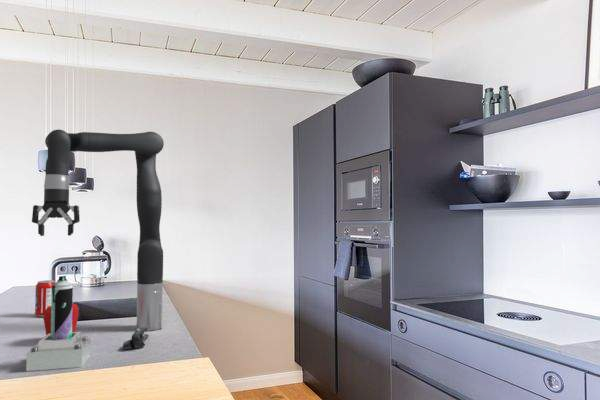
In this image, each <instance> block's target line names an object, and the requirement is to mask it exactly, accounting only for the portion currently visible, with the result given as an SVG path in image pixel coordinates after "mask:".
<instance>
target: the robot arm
mask: <svg viewBox="0 0 600 400" xmlns="http://www.w3.org/2000/svg"><path fill="white" fill-rule="evenodd" d="M44 142H45V146H46V148H47V159H46V161H45V174H44V176H45V177H44V183H43V184H44V185H43V188H44V190H43V192H44V194H43V205H37V204H36V205H35V204H34V205H33V207H32V214H31V215H32V216H31V223H33V224H37V228H38V229H37V233H38V235H39V236H40V237H43V236H44V237H45V223H46V222H47V220H49V218H51V219H55V218H57V219H61V218H63V219H64V220H65V221H66V222H67V223H68V224H67V236H68V237H69V236H72V234H73V235H74V229H75V227H74V226H75V224H78V223H80V205H77V204H76V205H75V204H74V205H70V179H69V178H70V177H69V173H70V172H69V171H70V170H69V168H70V167H69V159H70V154H71V153H73V152H75V153H76V152H84V153H106V152H107V153H108V152H121V151H122V152H123V151H129V152H130V151H131V152H134V155H135V162H136V164H135V165H136V212H137V218H138V223H139V243H138V250H137V259H136V260H137V266H136V267H137V268H136V269H137V274H136V275H137V277H136V279H137V280H136V283H137V285H136V286H137V287H136V329H140V328H143V327H146V328H148V329H147V330H146V331H147V332H149V331H157V330H162V329H163V313H164V312H163V309H164V305H163V302H164V301H163V287H164V285H163V284H164V283H163V281H164V280H163V279H164V277H163V276H164V250H163V247H162V243H161V240H162V239H161V233H160V226H161V225H160V224H161V216H162V209H163V208H162V186H161V184H160V180H159V177H158V174H157V165H156V163H157V160H156V159H157V155H158V154H159V153H161V152H162V150H163V148H164V139H163V138H162V136H161V134H159V133H157V132H155V131H145V132H136V133H108V132H92V131H91V132H90V131H89V132H88V131H82V132H77V133H74V132H73V133H72V132H67V131H65V130H64V129H53V130H51V131H50V132H49V133H48V135H47V136H46V137H45V141H44ZM42 210H43V212H44V214H43V215H42V216H41V218H40V219H39V214H40V212H41V211H42ZM70 210H71V212H72V213H73V219H72V218H71V216H70V215H69V214H68V213H69V211H70ZM146 331H145V332H146Z"/></svg>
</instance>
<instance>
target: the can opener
mask: <svg viewBox="0 0 600 400" xmlns="http://www.w3.org/2000/svg"><path fill="white" fill-rule="evenodd" d="M147 329H148V328H146V327H143V328H140V329H137V328H136V330H135V332H134V333H133V334H132V335H131V339H129V340H127V341H124V342H123V344H122V348H123V349H124V350H129V349H134V348H135V349H140V348H143V347H145V346H146V343H145V341H146V340H147V339H148V337H149V334H147V333H145V332H146V330H147Z"/></svg>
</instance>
